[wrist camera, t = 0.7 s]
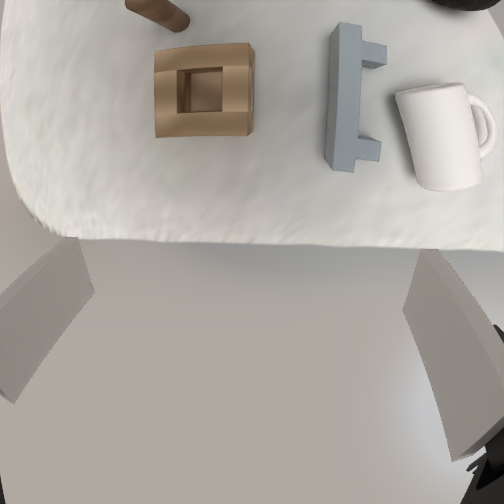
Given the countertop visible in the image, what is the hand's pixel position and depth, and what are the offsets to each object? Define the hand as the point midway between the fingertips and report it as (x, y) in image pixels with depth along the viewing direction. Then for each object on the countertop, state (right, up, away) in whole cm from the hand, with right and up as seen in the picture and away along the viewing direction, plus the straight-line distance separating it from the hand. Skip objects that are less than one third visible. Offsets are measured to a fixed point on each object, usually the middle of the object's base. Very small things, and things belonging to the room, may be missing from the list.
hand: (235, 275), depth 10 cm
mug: (+22, +15, +16) cm, 31 cm away
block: (-4, +18, +18) cm, 25 cm away
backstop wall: (+11, +17, +16) cm, 26 cm away
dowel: (-7, +26, +14) cm, 30 cm away
